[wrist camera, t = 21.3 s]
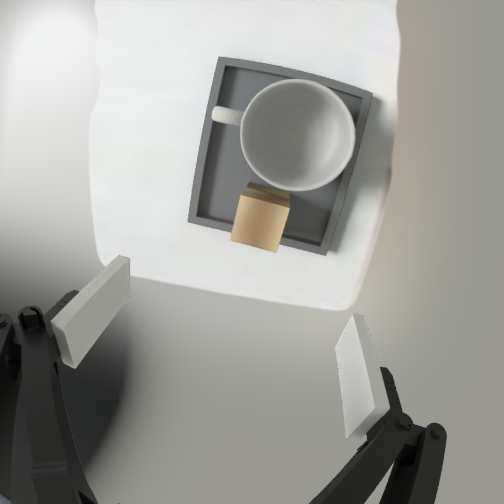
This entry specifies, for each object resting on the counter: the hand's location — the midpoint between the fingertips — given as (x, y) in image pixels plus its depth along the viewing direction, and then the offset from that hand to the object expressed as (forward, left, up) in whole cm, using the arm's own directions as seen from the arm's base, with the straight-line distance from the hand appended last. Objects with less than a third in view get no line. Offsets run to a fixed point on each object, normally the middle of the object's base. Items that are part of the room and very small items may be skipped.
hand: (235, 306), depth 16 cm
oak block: (0, 0, -22) cm, 22 cm away
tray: (-6, 0, -22) cm, 23 cm away
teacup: (-10, 0, -22) cm, 24 cm away
